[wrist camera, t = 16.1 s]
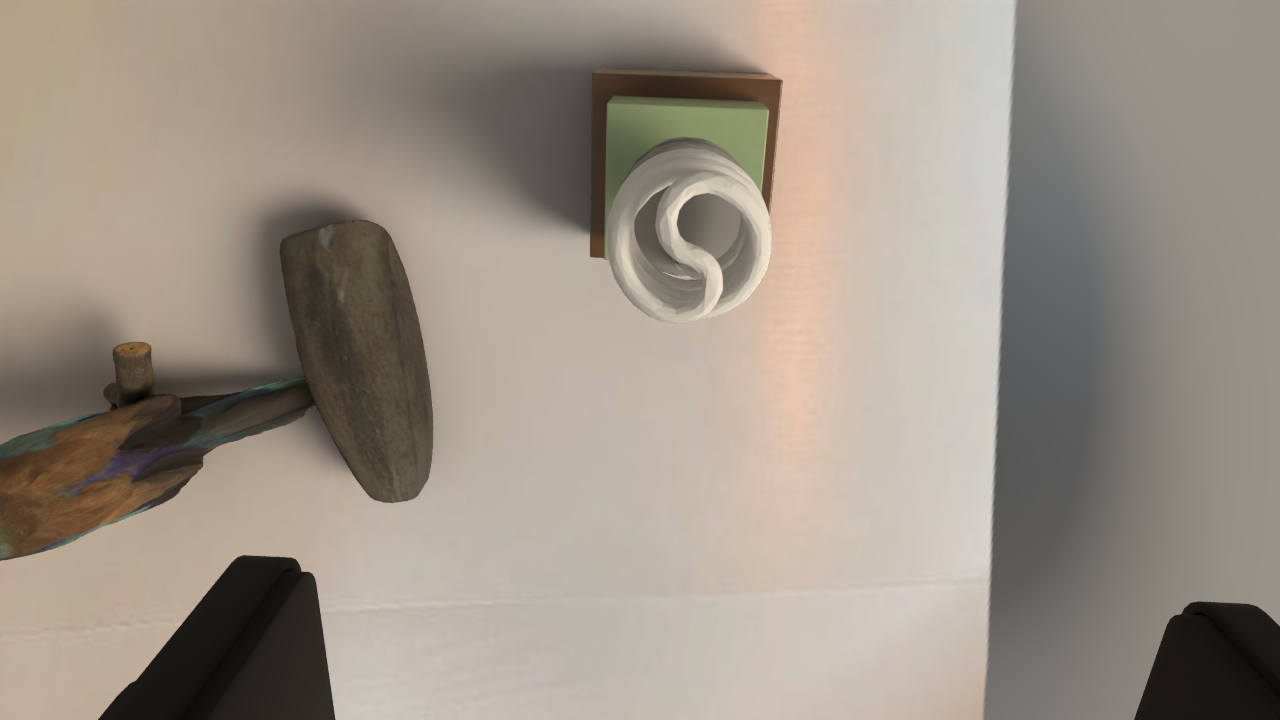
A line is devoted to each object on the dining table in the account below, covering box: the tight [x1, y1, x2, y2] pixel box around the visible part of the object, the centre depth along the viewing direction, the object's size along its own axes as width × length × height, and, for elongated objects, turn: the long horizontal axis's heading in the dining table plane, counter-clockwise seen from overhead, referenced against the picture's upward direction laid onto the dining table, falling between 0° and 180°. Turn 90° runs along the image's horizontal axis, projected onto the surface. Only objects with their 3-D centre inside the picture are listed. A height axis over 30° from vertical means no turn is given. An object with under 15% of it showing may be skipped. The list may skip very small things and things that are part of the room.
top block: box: [604, 96, 769, 260], centre depth 39 cm, size 7×7×4 cm
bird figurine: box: [0, 342, 316, 561], centre depth 46 cm, size 13×10×20 cm
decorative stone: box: [280, 220, 433, 503], centre depth 48 cm, size 17×6×4 cm, turn 8°
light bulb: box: [606, 137, 772, 324], centre depth 31 cm, size 6×6×12 cm
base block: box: [590, 68, 783, 258], centre depth 42 cm, size 9×9×4 cm
